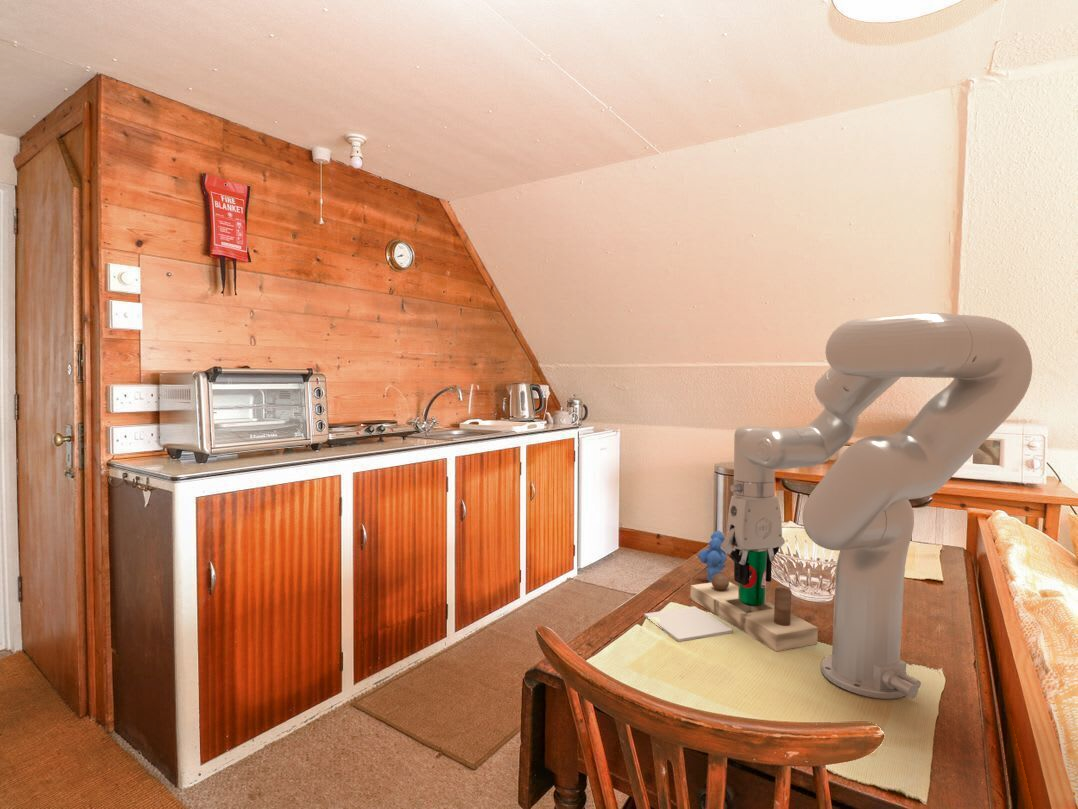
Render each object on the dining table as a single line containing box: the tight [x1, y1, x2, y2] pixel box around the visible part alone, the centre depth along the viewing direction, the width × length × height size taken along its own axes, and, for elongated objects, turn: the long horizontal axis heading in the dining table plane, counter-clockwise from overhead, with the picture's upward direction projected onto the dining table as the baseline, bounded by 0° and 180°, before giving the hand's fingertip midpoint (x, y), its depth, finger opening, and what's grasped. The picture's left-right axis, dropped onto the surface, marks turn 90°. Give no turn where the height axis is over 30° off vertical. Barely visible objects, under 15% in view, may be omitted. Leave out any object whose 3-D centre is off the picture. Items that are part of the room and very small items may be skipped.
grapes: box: [697, 530, 728, 583], centre depth 139 cm, size 12×7×12 cm, turn 155°
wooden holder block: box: [689, 572, 819, 652], centre depth 118 cm, size 26×9×9 cm, turn 21°
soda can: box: [738, 549, 767, 607], centre depth 118 cm, size 5×5×12 cm
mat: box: [643, 605, 734, 643], centre depth 116 cm, size 12×12×1 cm
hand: (752, 580), depth 118 cm, fingers closed on soda can, 5 cm apart
